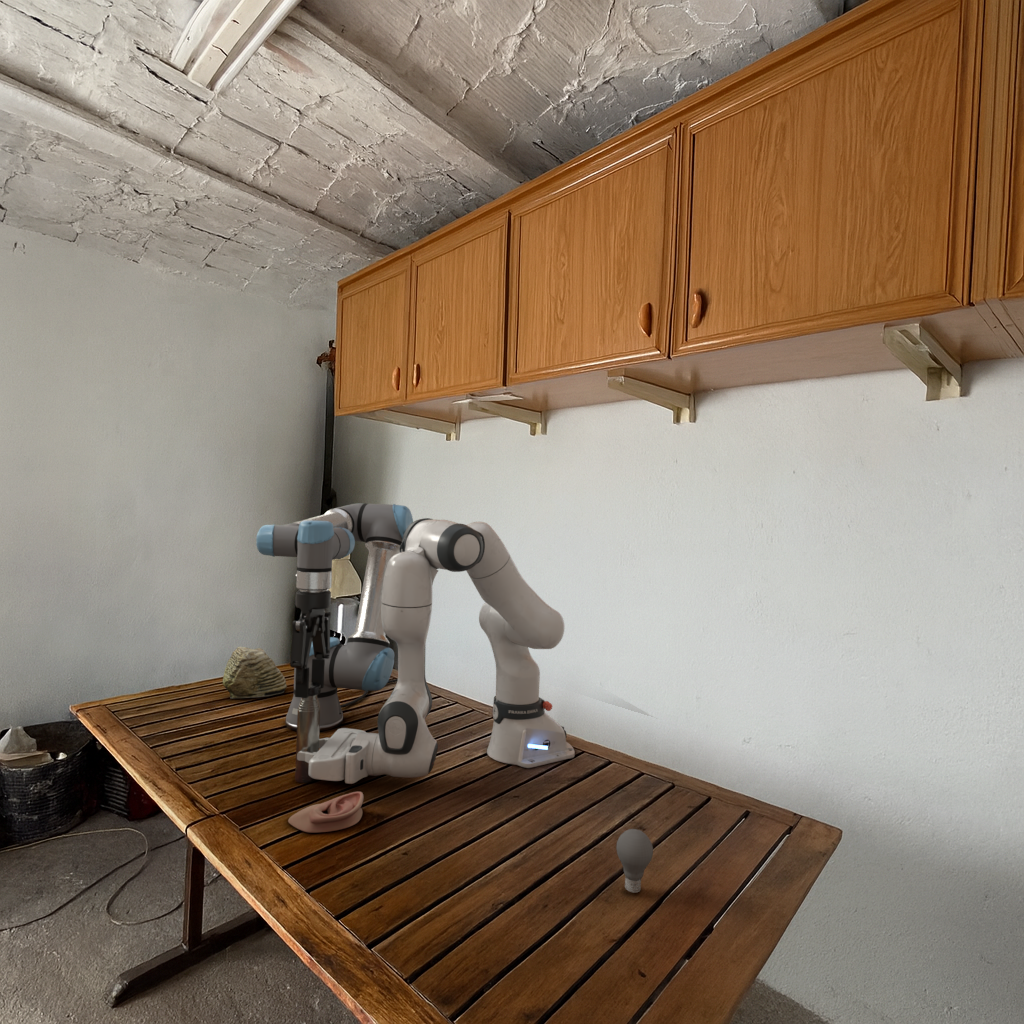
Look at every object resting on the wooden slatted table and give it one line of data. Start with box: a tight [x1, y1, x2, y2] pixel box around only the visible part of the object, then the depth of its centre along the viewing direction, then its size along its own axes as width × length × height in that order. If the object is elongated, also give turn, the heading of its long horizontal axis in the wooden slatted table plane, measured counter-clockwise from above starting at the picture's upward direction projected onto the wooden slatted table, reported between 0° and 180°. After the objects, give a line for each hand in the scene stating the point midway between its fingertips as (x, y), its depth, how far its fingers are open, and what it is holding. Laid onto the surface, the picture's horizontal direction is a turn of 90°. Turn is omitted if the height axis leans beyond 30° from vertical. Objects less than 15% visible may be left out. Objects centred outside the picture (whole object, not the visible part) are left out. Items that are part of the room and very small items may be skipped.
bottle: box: [294, 695, 321, 784], centre depth 142 cm, size 5×5×20 cm
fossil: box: [222, 646, 288, 699], centre depth 198 cm, size 9×18×15 cm, turn 132°
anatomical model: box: [287, 791, 364, 834], centre depth 124 cm, size 13×4×12 cm
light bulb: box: [615, 828, 654, 894], centre depth 106 cm, size 6×6×10 cm
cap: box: [308, 682, 321, 696], centre depth 142 cm, size 5×5×2 cm
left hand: (309, 691), depth 142 cm, fingers open, 7 cm apart
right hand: (303, 749), depth 142 cm, fingers closed on bottle, 5 cm apart
